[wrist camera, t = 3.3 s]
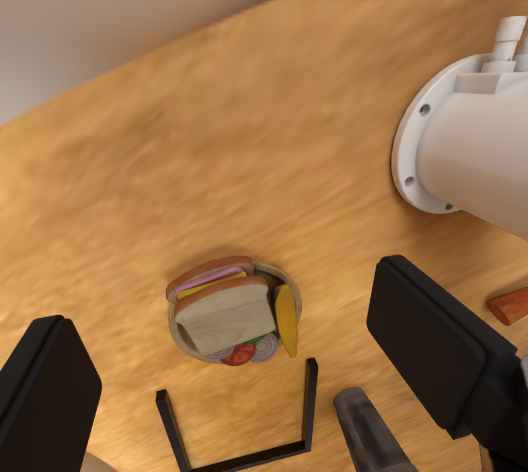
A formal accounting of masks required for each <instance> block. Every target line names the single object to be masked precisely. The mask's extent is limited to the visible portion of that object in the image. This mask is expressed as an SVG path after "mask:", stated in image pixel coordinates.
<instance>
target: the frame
mask: <svg viewBox="0 0 528 472" xmlns="http://www.w3.org/2000/svg"><path fill="white" fill-rule="evenodd" d="M317 374H318V364H317V362H316V360H315V358H311V359H307V365H306V382H305V399H304V416H303V433H302V441H300V442H296V443H292V444H288V445H285V446H281V447H277V448H273V449H270V450H266V451H262V452H258V453H254V454H251V455H247V456H243V457H239V458H235V459H232V460H228V461H224V462H220V463H216V464H213V465H209V466H205V467H201V468H198V469H194V470H191V466H190V463H189V460H188V457H187V454H186V451H185V447H184V444H183V441H182V438H181V435H180V432H179V428H178V425H177V422H176V419H175V416H174V413H173V409H172V406H171V403H170V400H169V397H168V394H167V390H161V391H157V394H156V404H157V407H158V410H159V412H160V415H161V418H162V421H163V424H164V427H165V429H166V432H167V435H168V438H169V441H170V443H171V446H172V449H173V452H174V455H175V457H176V460H177V463H178V466H179V469H180V471H181V472H236V471H239V470H243V469H247V468H251V467H254V466H258V465H262V464H265V463H269V462H273V461H276V460H280V459H284V458H287V457H291V456H295V455H298V454H302V453H306V452H310V451H311V442H312V431H313V420H314V408H315V397H316V386H317Z"/></svg>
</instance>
